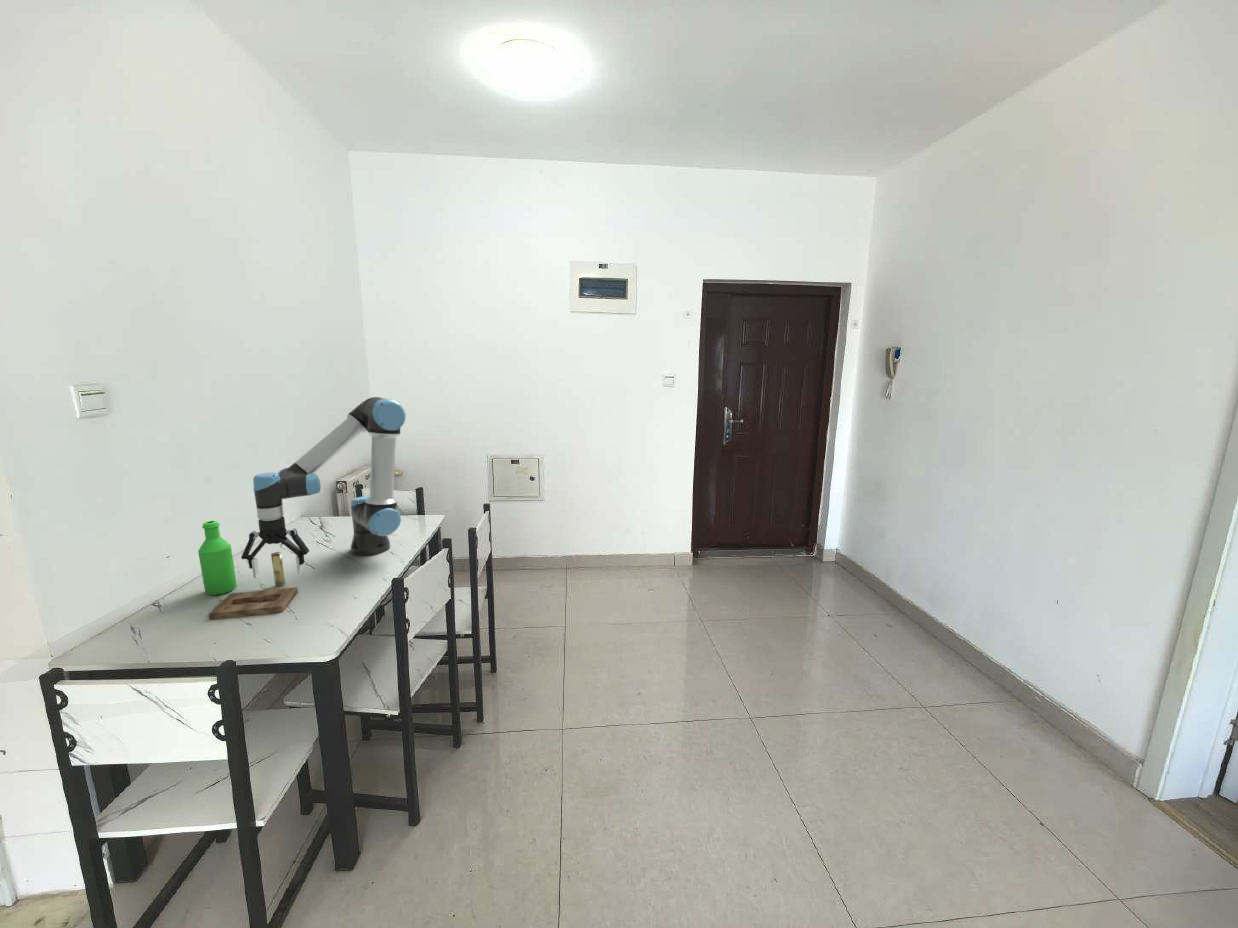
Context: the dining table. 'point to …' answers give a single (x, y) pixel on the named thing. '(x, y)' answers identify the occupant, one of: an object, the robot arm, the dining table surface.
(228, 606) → the keyhole board
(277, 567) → the peg
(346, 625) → the dining table surface
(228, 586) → the bottle
